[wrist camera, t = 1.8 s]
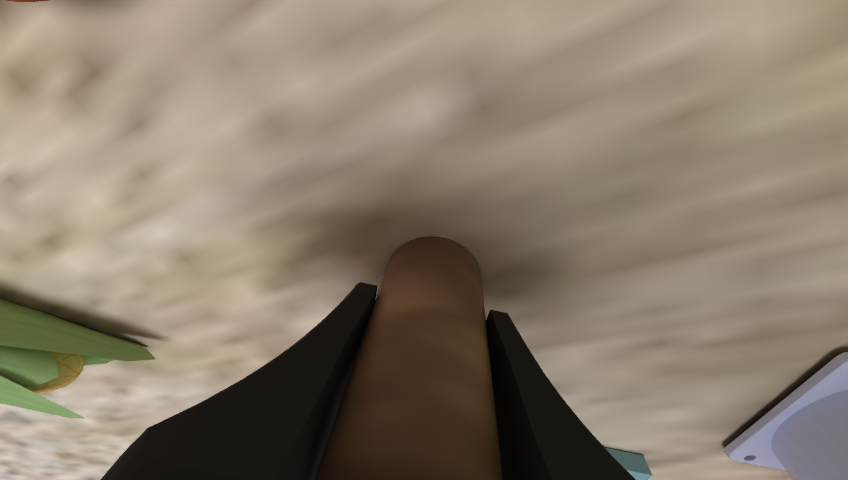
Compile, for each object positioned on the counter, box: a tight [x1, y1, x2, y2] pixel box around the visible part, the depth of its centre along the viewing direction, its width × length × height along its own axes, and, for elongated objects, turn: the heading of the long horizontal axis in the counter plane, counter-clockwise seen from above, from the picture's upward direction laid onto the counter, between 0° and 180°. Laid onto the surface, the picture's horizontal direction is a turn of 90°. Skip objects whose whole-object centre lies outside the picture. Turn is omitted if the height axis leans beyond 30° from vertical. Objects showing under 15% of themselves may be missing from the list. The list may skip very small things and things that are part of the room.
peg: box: [315, 237, 503, 480], centre depth 10 cm, size 4×4×8 cm
